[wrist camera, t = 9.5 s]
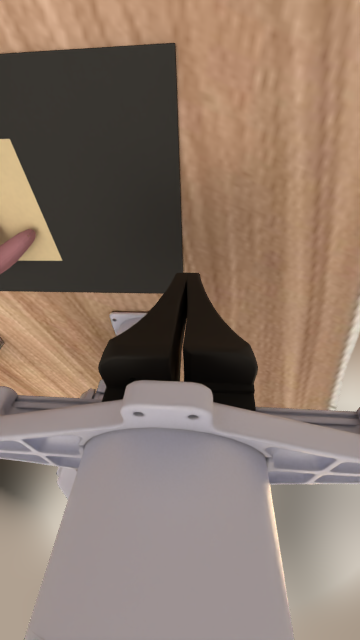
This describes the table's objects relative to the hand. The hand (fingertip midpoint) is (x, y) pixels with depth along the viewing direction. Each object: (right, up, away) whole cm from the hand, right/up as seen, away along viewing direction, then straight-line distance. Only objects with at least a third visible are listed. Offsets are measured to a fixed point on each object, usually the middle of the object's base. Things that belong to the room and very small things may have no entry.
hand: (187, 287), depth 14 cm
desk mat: (-13, +8, +7) cm, 17 cm away
